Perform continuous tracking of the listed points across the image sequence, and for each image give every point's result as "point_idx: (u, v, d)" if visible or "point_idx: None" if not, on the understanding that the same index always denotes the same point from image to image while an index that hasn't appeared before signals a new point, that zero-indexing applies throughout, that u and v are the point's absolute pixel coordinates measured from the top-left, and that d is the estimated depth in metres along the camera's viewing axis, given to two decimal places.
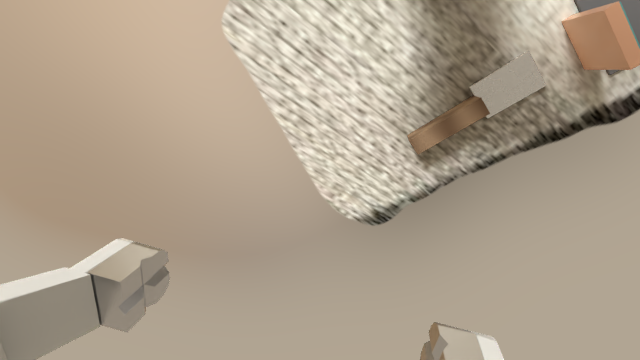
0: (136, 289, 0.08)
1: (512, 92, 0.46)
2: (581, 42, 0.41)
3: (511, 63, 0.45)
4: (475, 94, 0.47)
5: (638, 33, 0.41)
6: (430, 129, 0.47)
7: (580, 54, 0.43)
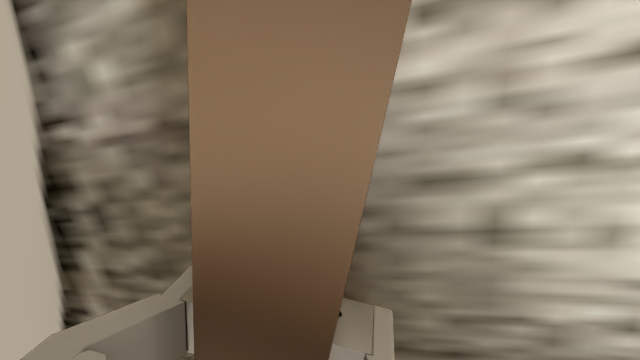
0: None
1: None
2: None
3: None
4: None
5: None
6: (345, 228, 0.05)
7: None
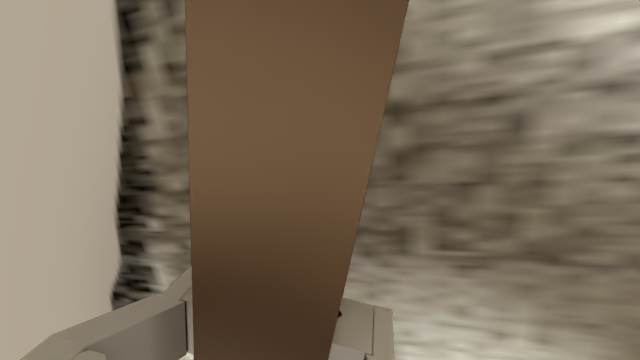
0: None
1: None
2: None
3: None
4: None
5: None
6: (344, 225, 0.05)
7: None
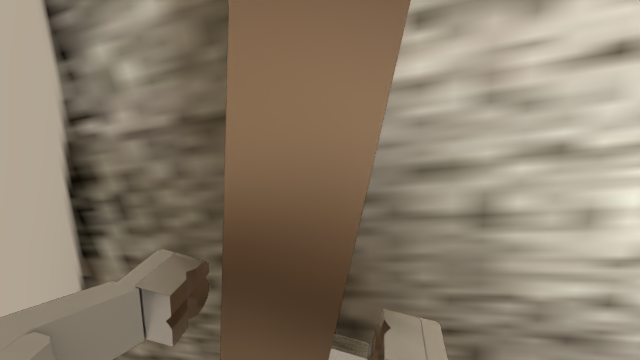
0: (182, 302, 0.08)
1: None
2: None
3: None
4: (330, 351, 0.12)
5: None
6: (353, 200, 0.06)
7: None
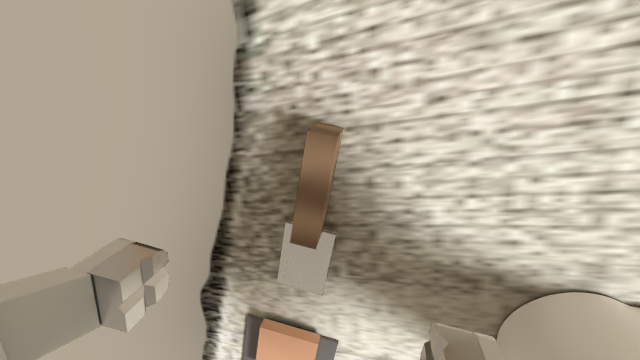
0: (136, 289, 0.08)
1: (293, 258, 0.36)
2: (289, 348, 0.39)
3: (324, 278, 0.36)
4: (322, 233, 0.34)
5: None
6: (328, 175, 0.27)
7: (277, 335, 0.39)
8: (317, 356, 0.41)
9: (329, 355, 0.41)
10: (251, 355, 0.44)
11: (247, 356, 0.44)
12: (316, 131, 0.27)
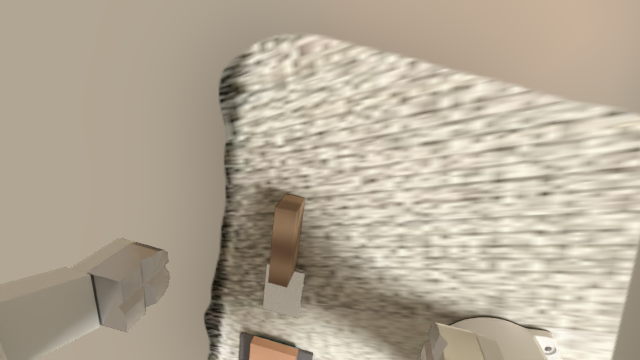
0: (136, 289, 0.08)
1: (274, 290, 0.46)
2: None
3: (298, 305, 0.47)
4: (295, 272, 0.44)
5: None
6: (291, 236, 0.38)
7: (264, 349, 0.49)
8: None
9: None
10: None
11: None
12: (282, 206, 0.37)
